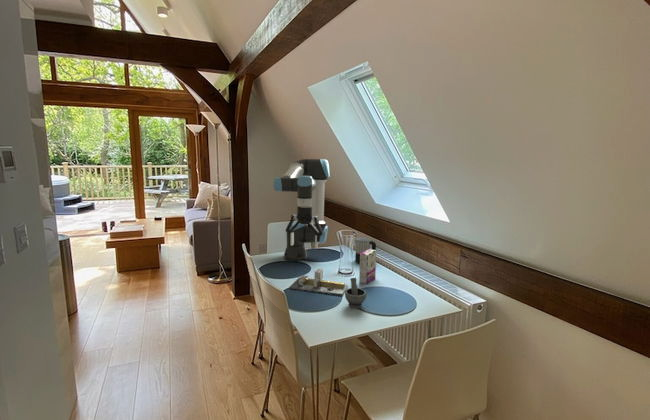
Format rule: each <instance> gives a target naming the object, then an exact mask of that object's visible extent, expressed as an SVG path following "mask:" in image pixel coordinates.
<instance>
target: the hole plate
mask: <svg viewBox="0 0 650 420" xmlns="http://www.w3.org/2000/svg"><path fill="white" fill-rule="evenodd" d="M348 287H349V285H348V284H345V287H344V288H339V287H332V286H324V285H318V286H317V287H314V284H310V283H304V284H303V285H302V286H299V282H298V278H297V279H296V280H295V281H294V282H293V283H292V284H291V285H290V286H289V289H290V290H297V291H304V290H307V291H306V292H311V291H315V292H314V293H318V292H322V293H321V294H325V293H330V294H329V295H332V294H336V295H335V296H339V295H340V296H339V297H343V296H344V295H345V291H346V290H347V289H348Z"/></svg>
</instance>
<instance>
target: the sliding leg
mask: <svg viewBox="0 0 650 420" xmlns="http://www.w3.org/2000/svg"><path fill="white" fill-rule="evenodd" d="M313 279H314V287H317V286H318V281H319V282H320V281H321V280H323V279H324V269H323V268H317V269H316V270H315V271H314V278H313Z"/></svg>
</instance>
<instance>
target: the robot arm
mask: <svg viewBox="0 0 650 420" xmlns="http://www.w3.org/2000/svg"><path fill="white" fill-rule="evenodd" d="M329 164H330V163H329V161H328V160H327V159H322V158H302V159H299V160H296V161H294V162H292V163H291V164H290V165H289V166H288V170H287V171H286V172H285V173H284V174H283V175H282V176H278V177H277V176H276V177H274V179H273V184H272V185H273V189H274V191H275V192H286V193H287V192H289V193H291V192H292V193H296V194H297V200H296V201H297V203H296V205H297V208H296V209H297V210H296V213H297V214H295V213H293V214H291V216H290V221H289V222H288V224H287V226H286V229H285V232H286V248H285V251H284V253H283V258H284V260H287V261H291V262H297V261H298V262H299V261H300V262H301V261H304V260H307V258H308V253H307V249H306V246H305V244H314V249H318V248H319V244H325V243H326V241H327V237H328V231H329V226H328V225H327V222H326V221H325V220H324V217H325V191H326V190H325V188H326V186H325V185H326V184H325V183H326V182H327V181H328V179H330V175H331V174H330V165H329ZM296 219H297V221H296V222H295V220H296Z"/></svg>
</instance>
